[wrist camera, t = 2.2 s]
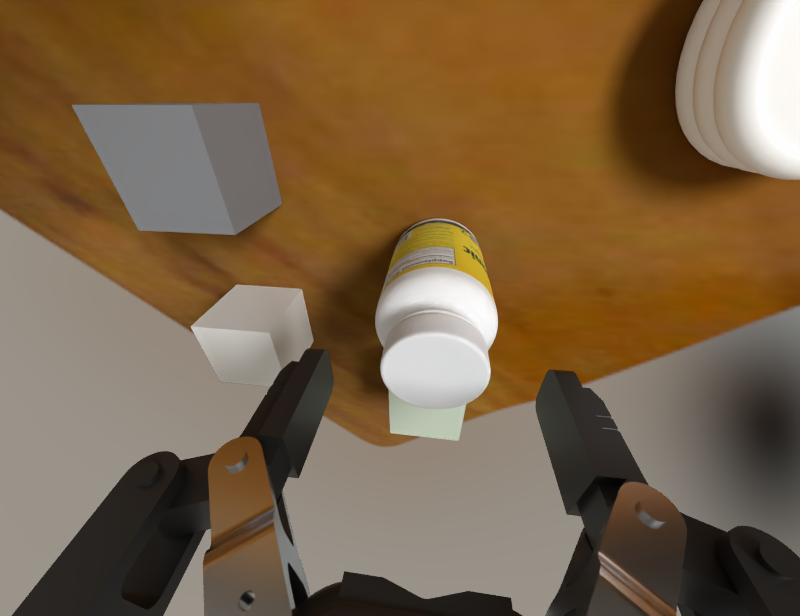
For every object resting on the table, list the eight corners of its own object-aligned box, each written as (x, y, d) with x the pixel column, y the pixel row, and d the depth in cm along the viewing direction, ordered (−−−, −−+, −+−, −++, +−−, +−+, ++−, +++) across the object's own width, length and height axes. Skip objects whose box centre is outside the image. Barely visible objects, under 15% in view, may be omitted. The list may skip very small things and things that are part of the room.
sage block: (398, 337, 23) (388, 388, 19) (463, 342, 22) (467, 396, 18) (398, 380, 26) (390, 432, 22) (456, 386, 25) (458, 440, 21)
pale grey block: (237, 284, 22) (190, 326, 18) (302, 288, 21) (269, 332, 17) (256, 335, 25) (220, 381, 21) (314, 340, 24) (288, 388, 20)
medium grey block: (169, 102, 15) (71, 104, 11) (259, 102, 15) (191, 104, 11) (206, 200, 18) (138, 230, 14) (282, 203, 18) (235, 235, 14)
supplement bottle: (484, 288, 19) (512, 420, 11) (404, 298, 21) (380, 423, 13) (477, 206, 16) (509, 308, 9) (385, 224, 18) (337, 327, 10)
